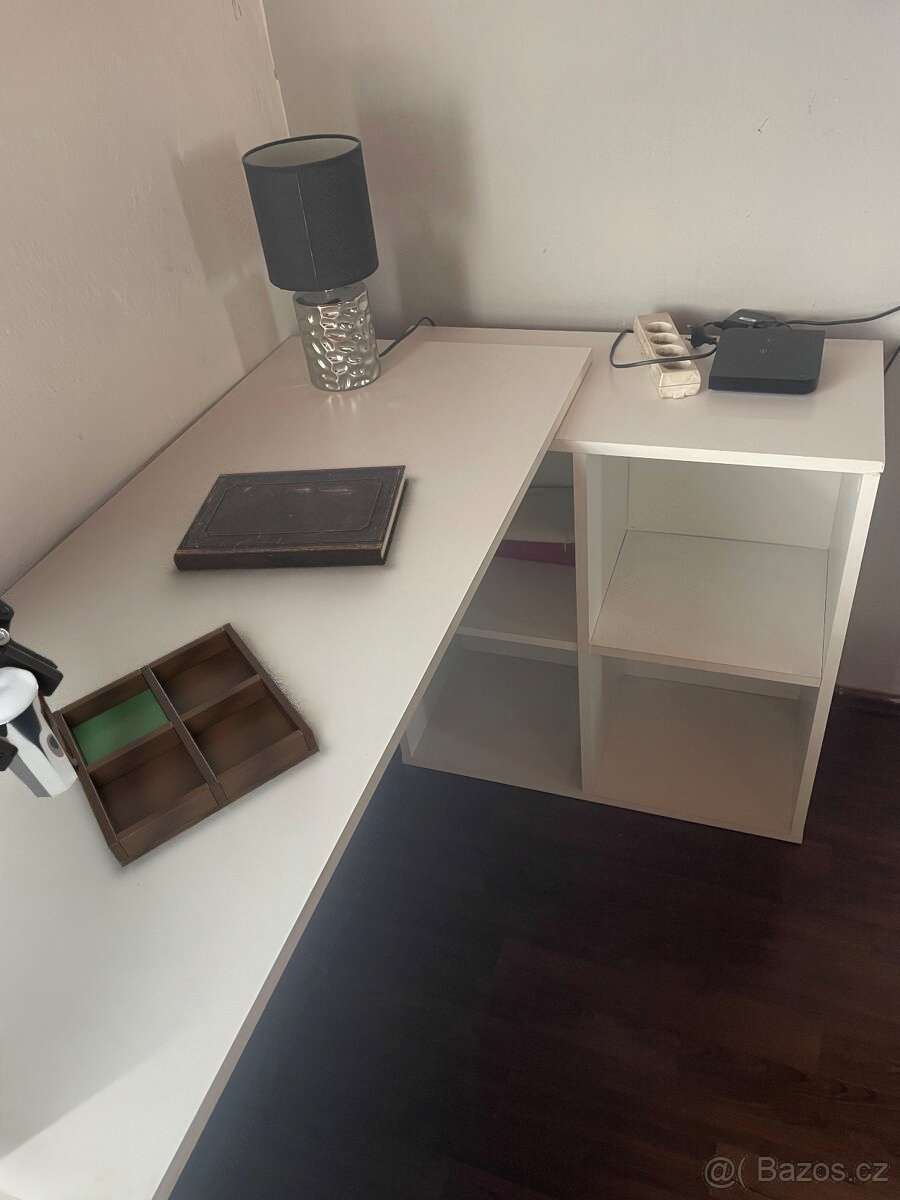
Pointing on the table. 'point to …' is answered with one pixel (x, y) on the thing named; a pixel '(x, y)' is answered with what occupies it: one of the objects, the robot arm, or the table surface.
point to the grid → (181, 741)
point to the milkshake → (34, 736)
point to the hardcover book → (295, 519)
